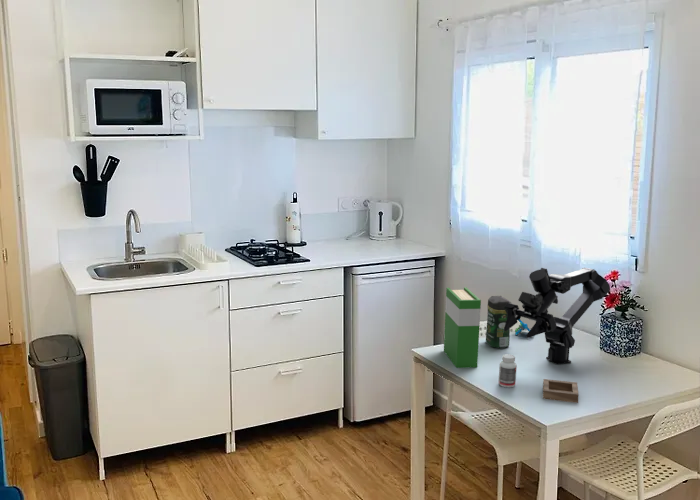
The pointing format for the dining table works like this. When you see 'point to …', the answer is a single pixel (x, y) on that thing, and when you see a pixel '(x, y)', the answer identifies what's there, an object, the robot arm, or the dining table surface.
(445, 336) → the hardback book
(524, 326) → the blue angled piece
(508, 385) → the pill bottle
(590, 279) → the robot arm
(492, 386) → the dining table surface
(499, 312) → the coffee jar
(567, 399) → the socket block
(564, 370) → the dining table surface
